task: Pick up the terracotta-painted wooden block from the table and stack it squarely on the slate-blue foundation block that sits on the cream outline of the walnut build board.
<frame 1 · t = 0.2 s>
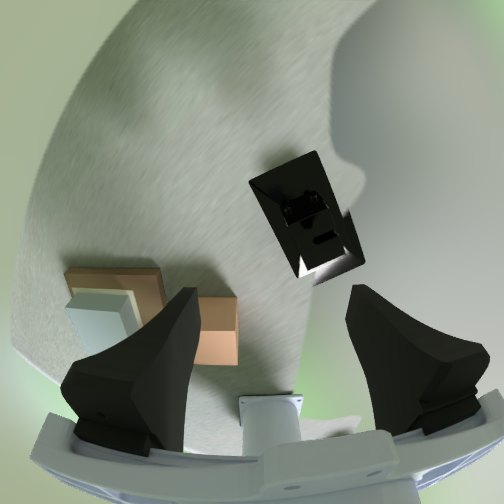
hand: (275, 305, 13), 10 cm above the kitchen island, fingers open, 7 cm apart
top block: (216, 314, 25), on the kitchen island
build board: (128, 327, 26), on the kitchen island
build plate: (304, 216, 22), on the kitchen island
base block: (110, 319, 24), point 1 cm above the kitchen island, touching build board
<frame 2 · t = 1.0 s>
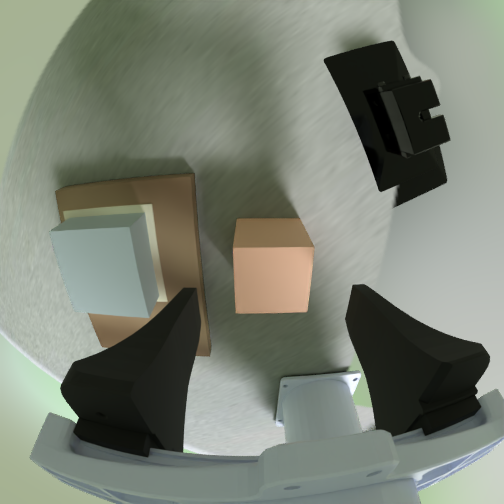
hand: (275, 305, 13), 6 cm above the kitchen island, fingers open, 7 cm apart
top block: (268, 246, 18), on the kitchen island
build board: (136, 273, 19), on the kitchen island
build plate: (385, 115, 15), on the kitchen island
base block: (112, 257, 17), point 1 cm above the kitchen island, touching build board
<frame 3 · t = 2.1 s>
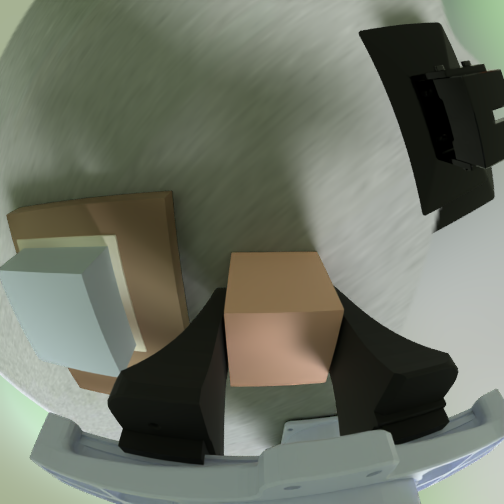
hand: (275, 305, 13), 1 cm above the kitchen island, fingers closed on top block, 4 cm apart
top block: (273, 288, 14), on the kitchen island, touching gripper
build board: (109, 314, 15), on the kitchen island
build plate: (432, 111, 10), on the kitchen island
base block: (75, 298, 13), point 1 cm above the kitchen island, touching build board
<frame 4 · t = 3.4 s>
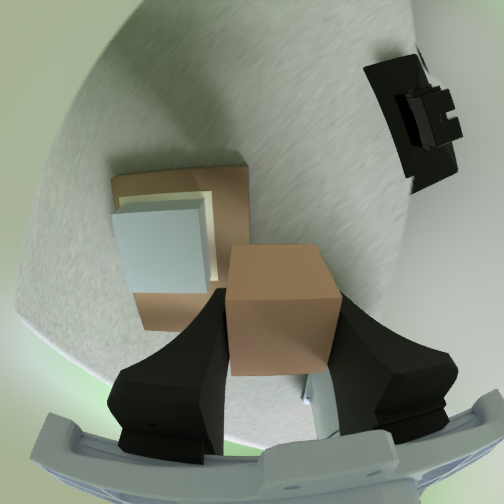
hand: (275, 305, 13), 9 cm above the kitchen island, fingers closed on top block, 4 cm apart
top block: (273, 280, 14), point 8 cm above the kitchen island, touching gripper
build board: (187, 256, 22), on the kitchen island
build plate: (409, 115, 18), on the kitchen island
base block: (168, 240, 20), point 1 cm above the kitchen island, touching build board
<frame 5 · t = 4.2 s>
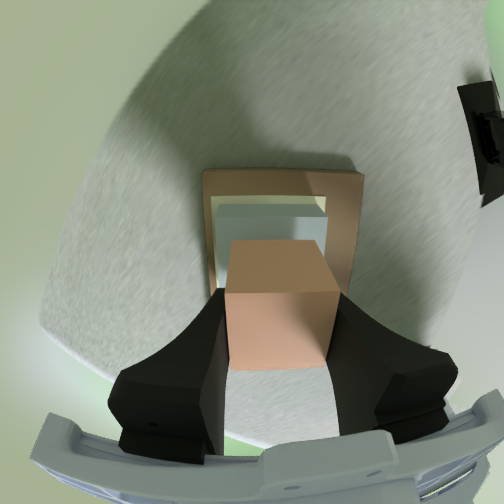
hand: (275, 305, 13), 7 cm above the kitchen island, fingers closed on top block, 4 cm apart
top block: (272, 275, 14), point 5 cm above the kitchen island, touching gripper
build board: (280, 266, 20), on the kitchen island
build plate: (484, 134, 16), on the kitchen island
base block: (268, 248, 18), point 1 cm above the kitchen island, touching build board
when the fingers open (7 cm above the kitchen island, at t = 4.7 s): top block stays where it is, resting on base block.
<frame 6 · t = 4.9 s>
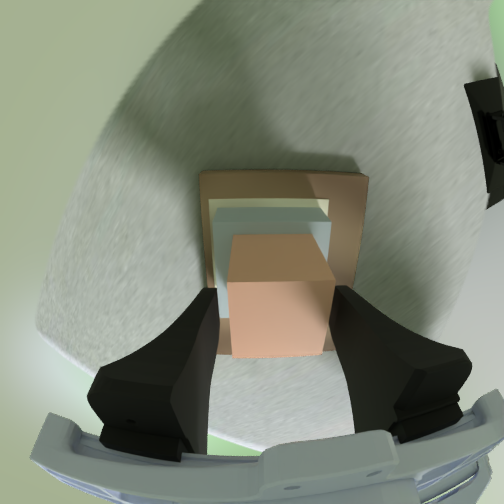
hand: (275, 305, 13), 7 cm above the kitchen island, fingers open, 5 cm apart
top block: (272, 269, 15), point 4 cm above the kitchen island, touching base block
build board: (281, 271, 19), on the kitchen island
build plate: (491, 134, 15), on the kitchen island
base block: (268, 253, 17), point 1 cm above the kitchen island, touching build board, top block
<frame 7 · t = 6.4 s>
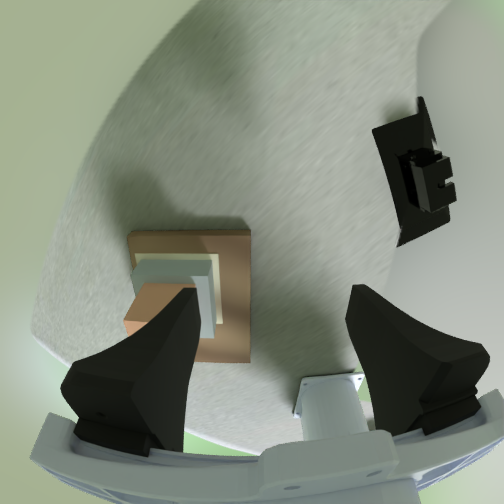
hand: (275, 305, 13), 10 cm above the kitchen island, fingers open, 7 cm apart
top block: (172, 305, 21), point 4 cm above the kitchen island, touching base block
build board: (195, 301, 25), on the kitchen island
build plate: (410, 172, 21), on the kitchen island
base block: (179, 291, 23), point 1 cm above the kitchen island, touching build board, top block
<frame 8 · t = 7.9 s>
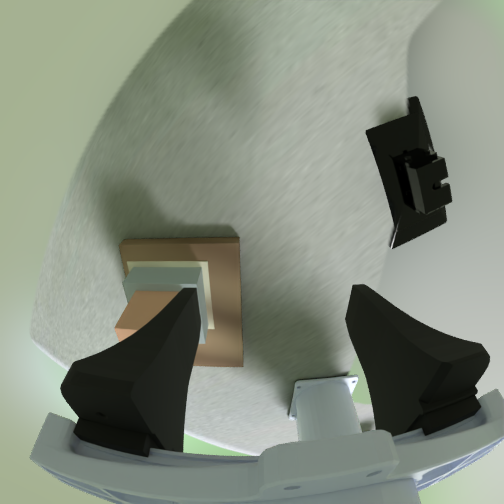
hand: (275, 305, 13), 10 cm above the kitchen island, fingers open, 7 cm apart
top block: (164, 312, 21), point 4 cm above the kitchen island, touching base block
build board: (188, 307, 25), on the kitchen island
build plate: (405, 173, 21), on the kitchen island
base block: (171, 297, 23), point 1 cm above the kitchen island, touching build board, top block
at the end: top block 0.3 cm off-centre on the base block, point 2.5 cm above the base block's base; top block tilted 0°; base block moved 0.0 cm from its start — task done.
